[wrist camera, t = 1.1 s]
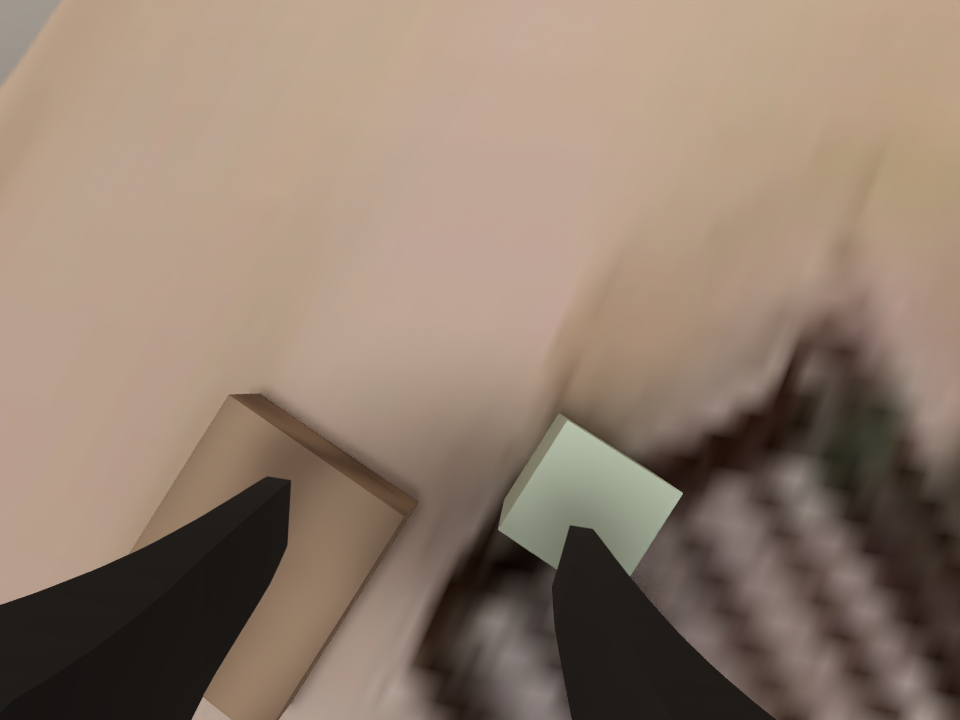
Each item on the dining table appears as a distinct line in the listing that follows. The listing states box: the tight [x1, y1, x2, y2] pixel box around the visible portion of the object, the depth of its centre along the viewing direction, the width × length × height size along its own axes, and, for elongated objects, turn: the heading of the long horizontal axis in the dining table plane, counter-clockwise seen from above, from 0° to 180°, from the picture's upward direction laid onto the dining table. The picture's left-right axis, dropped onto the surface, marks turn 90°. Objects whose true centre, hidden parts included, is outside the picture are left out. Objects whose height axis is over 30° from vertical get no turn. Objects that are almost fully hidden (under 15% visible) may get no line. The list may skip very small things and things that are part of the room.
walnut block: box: [129, 394, 418, 720], centre depth 23 cm, size 10×12×3 cm
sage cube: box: [498, 413, 683, 576], centre depth 20 cm, size 5×5×5 cm
